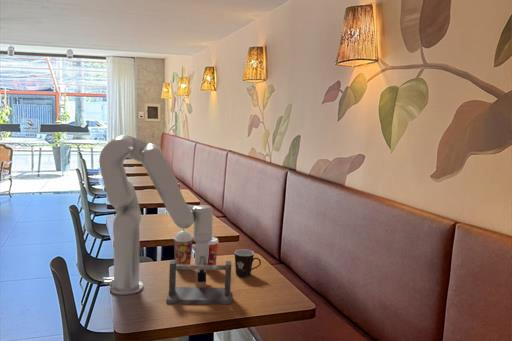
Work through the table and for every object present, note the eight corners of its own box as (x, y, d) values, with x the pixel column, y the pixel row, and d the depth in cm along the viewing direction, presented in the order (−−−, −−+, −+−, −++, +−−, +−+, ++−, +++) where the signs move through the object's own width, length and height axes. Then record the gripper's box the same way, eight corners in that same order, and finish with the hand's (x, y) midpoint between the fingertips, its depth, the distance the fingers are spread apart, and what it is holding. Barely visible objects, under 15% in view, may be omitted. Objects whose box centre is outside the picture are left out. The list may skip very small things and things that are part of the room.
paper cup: (214, 273, 190) (215, 242, 187) (198, 270, 191) (199, 240, 189) (219, 266, 197) (221, 237, 195) (203, 264, 199) (204, 235, 197)
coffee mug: (229, 273, 190) (230, 251, 189) (244, 269, 196) (245, 248, 194) (246, 282, 182) (247, 259, 180) (261, 277, 187) (262, 255, 186)
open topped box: (195, 289, 172) (196, 271, 171) (196, 283, 178) (196, 266, 176) (205, 289, 173) (206, 271, 172) (205, 283, 178) (206, 266, 177)
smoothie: (173, 264, 197) (174, 221, 194) (191, 263, 199) (192, 222, 196) (173, 271, 189) (174, 227, 186) (192, 270, 191) (193, 227, 188)
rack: (166, 303, 159) (167, 267, 157) (169, 290, 170) (170, 256, 167) (231, 303, 161) (233, 268, 159) (230, 291, 172) (232, 257, 170)
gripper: (194, 229, 180) (194, 268, 183) (192, 243, 163) (191, 285, 166) (212, 229, 181) (211, 268, 183) (211, 243, 164) (211, 285, 166)
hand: (202, 276), depth 175 cm, fingers open, 9 cm apart
